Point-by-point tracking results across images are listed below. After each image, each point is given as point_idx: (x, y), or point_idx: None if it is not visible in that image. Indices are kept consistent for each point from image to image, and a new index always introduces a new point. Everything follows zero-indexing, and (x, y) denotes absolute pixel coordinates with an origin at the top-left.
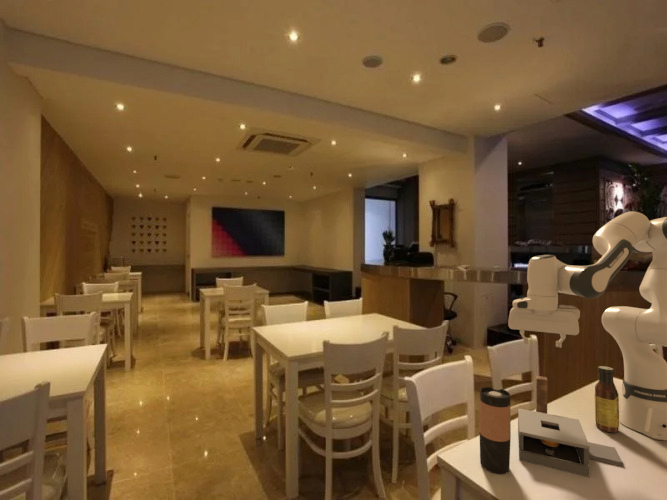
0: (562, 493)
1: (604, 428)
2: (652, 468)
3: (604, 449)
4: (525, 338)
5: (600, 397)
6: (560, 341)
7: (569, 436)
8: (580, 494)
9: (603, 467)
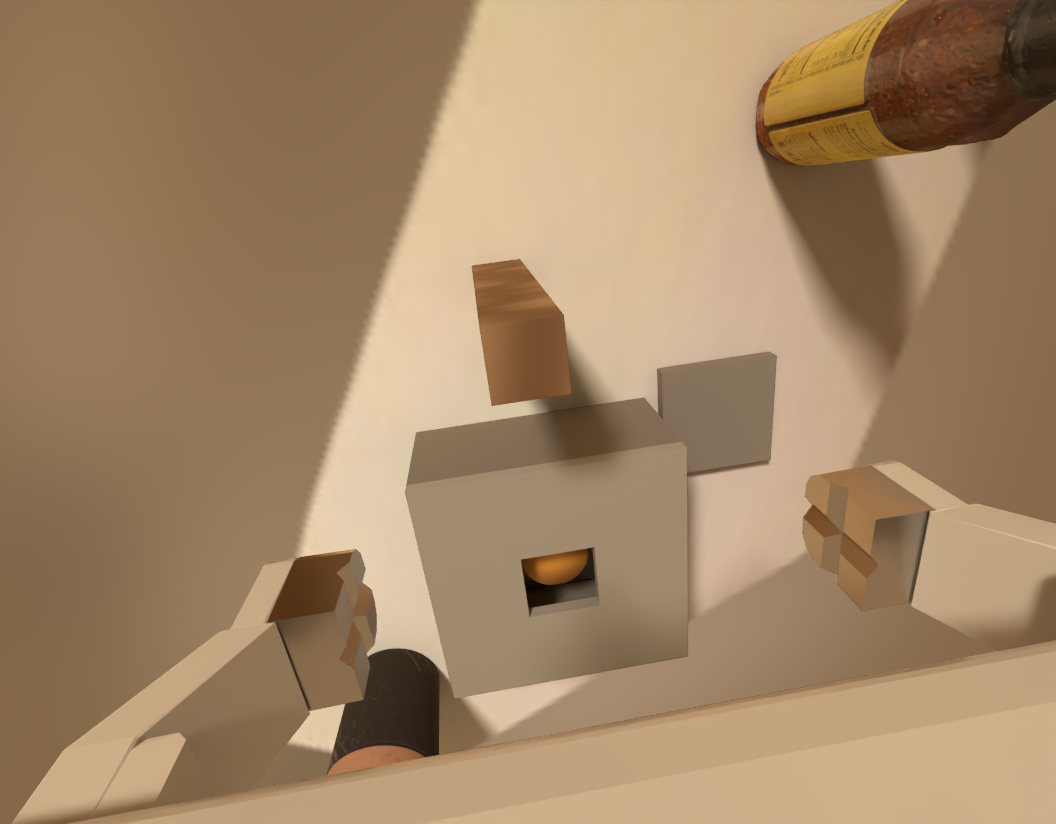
0: (577, 684)
1: (787, 161)
2: (854, 408)
3: (733, 397)
4: (308, 715)
5: (887, 136)
6: (941, 613)
7: (629, 628)
8: None
9: (701, 497)
